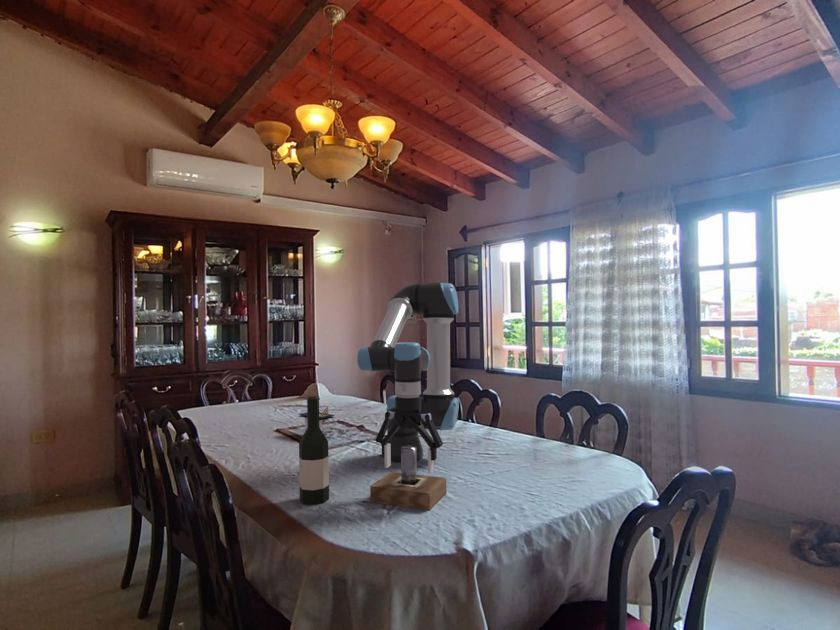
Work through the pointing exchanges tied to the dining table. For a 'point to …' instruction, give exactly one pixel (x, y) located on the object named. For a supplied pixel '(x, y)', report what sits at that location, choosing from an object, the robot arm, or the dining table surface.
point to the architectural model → (322, 418)
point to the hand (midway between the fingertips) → (408, 469)
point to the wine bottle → (313, 459)
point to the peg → (408, 465)
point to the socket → (408, 491)
